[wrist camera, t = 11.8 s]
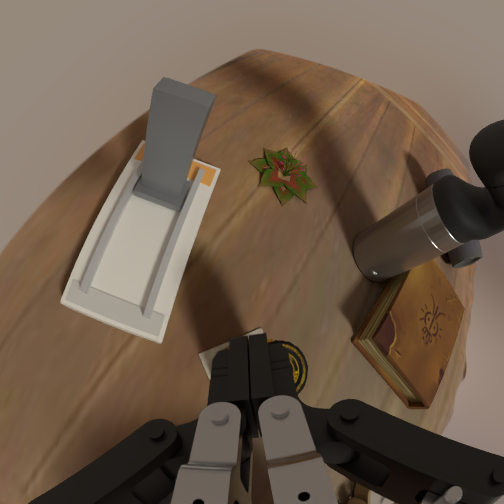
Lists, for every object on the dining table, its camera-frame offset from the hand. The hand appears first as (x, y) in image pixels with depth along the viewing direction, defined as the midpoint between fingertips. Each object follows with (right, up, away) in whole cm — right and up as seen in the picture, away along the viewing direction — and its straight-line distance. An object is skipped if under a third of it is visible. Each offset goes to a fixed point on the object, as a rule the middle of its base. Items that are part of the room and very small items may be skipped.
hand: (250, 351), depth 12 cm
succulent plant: (+5, +16, +35) cm, 39 cm away
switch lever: (-11, +12, +22) cm, 28 cm away
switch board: (-13, +7, +22) cm, 26 cm away
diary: (+28, -10, +34) cm, 45 cm away
